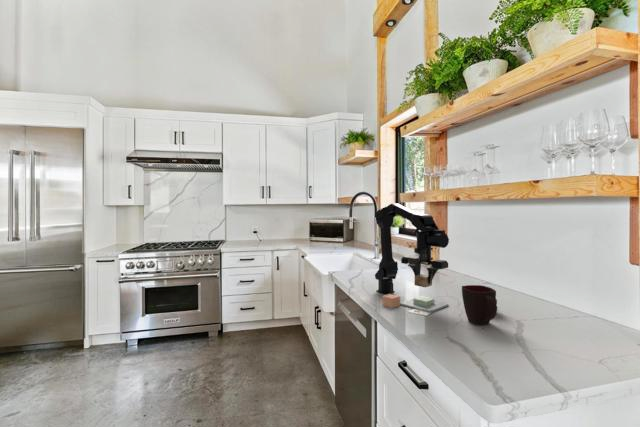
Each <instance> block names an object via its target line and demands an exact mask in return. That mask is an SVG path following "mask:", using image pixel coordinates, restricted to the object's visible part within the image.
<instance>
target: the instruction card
mask: <svg viewBox="0 0 640 427" xmlns="http://www.w3.org/2000/svg"><path fill="white" fill-rule="evenodd" d="M408 313H410V314H416V315H420V316H425V317H427V316H428V315H430V314H431V313H429V312H425V311H421V310H418V309H413V308H412V309H411V310H409V311H408Z"/></svg>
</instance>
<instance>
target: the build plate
mask: <svg viewBox="0 0 640 427" xmlns="http://www.w3.org/2000/svg"><path fill="white" fill-rule="evenodd" d="M400 306H402V307H406V308H411V309H412V310H413V309H418V310H421V311H425V312H429V313H430V314H432V313H433V312H434V313H435V312H437V311H439V310H442V309H444V308H447V307H449V303H446V302H442V301H438V300H435V298H432V297H427V296H422V295H420V296H417V297H414V298H411V299H408V300H405V301H402V302H401V301H400Z"/></svg>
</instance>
